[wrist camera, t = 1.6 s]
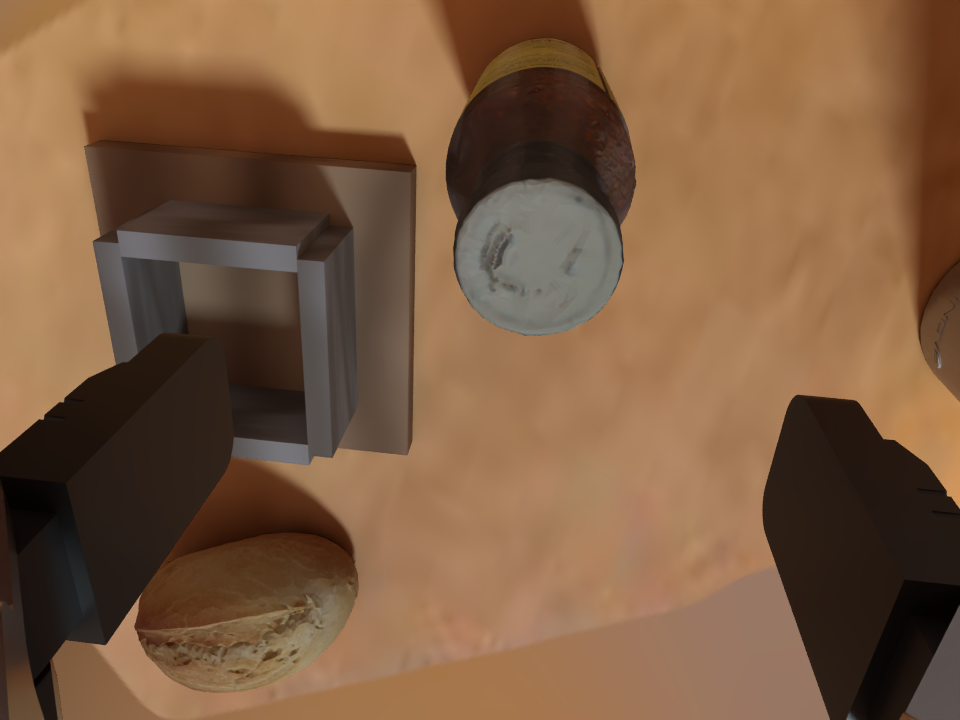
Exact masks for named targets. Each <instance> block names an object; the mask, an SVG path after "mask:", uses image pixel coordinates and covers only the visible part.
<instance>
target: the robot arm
mask: <svg viewBox="0 0 960 720" xmlns="http://www.w3.org/2000/svg"><path fill="white" fill-rule="evenodd" d="M921 347H922V350H923V353H924V357H925V360H926V362H927V363H928V365H929V367H930V368H931V370H932V371H933V373H934V374H935V375H936V377H937V378H938V379H939V380H940V381H941V382H942V383H943V384H944V385H945V386H946V388H947V389H948V390H949V391H950V392H951V393H952V394H953V395H954V396H955V397H956V399H957V400H958V401H959V402H960V262H959V263H957V264H956V265H955V266H954V267H953V268H952V269H951V270H950V271H949V272H948V273H947V274H946V275H945V276H944V278H943V279H942V280H941V282H940V283H939V284H938V286H937V287H936V289H935V290H934V291H933V293H932V295H931V297H930V299H929V302H928V304H927V306H926V308H925V310H924V315H923V319H922V323H921ZM64 399H65V400H64V403H63V402H59V403H58V404H57V405H56V406H54V407H53V408H52V409H51V410H50V411H49V412H47V413H46V414H45V415H44V420H40V419H39V420H38V421H37V422H35V423H34V424H33V425H32V426H31V427H30V428H28V429H27V430H26V431H25V432H24V433H22V434H21V435H20V436H19V437H18V438H17V439H15V440H14V441H13V442H12V443H11V444H9V445H8V446H7V447H6V448H5V449H3V450H2V451H1V452H0V720H63V716H62V708H61V701H60V695H59V687H58V680H57V674H56V671H55V667H54V663H53V660H52V658H53V656H54V655H55V653H56V652H57V651H58V650H59V648H60V647H61V646H62V644H63V643H64V642H65V640H69V641H78V642H85V643H93V644H101V645H106V644H107V643H108V641H109V640H110V638H111V637H112V635H113V634H114V632H115V631H116V630H117V628H118V627H119V625H120V624H121V622H122V621H123V619H124V618H125V616H126V615H127V614H128V612H129V611H130V609H131V608H132V606H133V605H134V603H135V602H136V601H137V599H138V598H139V596H140V595H141V593H142V592H143V590H144V589H145V587H146V586H147V585H148V583H149V582H150V580H151V579H152V577H153V576H154V574H155V573H156V571H157V570H158V569H159V567H160V566H161V564H162V563H163V561H164V560H165V558H166V557H167V556H168V554H169V553H170V551H171V550H172V548H173V547H174V545H175V544H176V542H177V541H178V540H179V538H180V537H181V535H182V534H183V532H184V531H185V529H186V528H187V526H188V525H189V524H190V522H191V521H192V519H193V518H194V516H195V515H196V513H197V512H198V511H199V509H200V508H201V506H202V505H203V503H204V502H205V500H206V499H207V497H208V496H209V495H210V493H211V492H212V490H213V489H214V487H215V486H216V484H217V483H218V482H219V480H220V479H221V477H222V476H223V474H224V473H225V471H226V469H227V467H228V464H229V461H230V458H231V454H232V449H233V441H234V429H233V420H232V411H231V402H230V393H229V385H228V376H227V367H226V358H225V352H224V348H223V345H222V343H221V342H220V340H219V339H218V338H216V337H209V336H198V335H188V334H178V333H167V332H164V333H161V334H160V335H158V336H157V337H156V338H155V339H154V340H152V341H151V342H150V343H149V344H148V345H147V346H146V347H144V348H143V349H142V350H141V351H140V352H139V353H138V354H137V355H135V356H134V357H133V358H132V359H131V360H130V361H129V362H122V363H120V364H117V365H115V366H113V367H111V368H109V369H107V370H104V371H102V372H100V373H98V374H96V375H94V376H91V377H89V378H88V379H86V380H85V381H84V382H83V383H82V384H81V385H79V386H78V387H77V388H76V389H75V390H73V391H72V392H71V393H70V394H69V395H68V396H66V397H65V398H64ZM763 525H764V531H765V534H766V537H767V540H768V543H769V546H770V549H771V552H772V554H773V557H774V560H775V563H776V566H777V569H778V572H779V574H780V577H781V580H782V583H783V586H784V589H785V592H786V595H787V597H788V600H789V603H790V606H791V608H792V612H793V615H794V617H795V620H796V623H797V626H798V629H799V632H800V635H801V637H802V640H803V643H804V646H805V649H806V652H807V655H808V658H809V660H810V663H811V666H812V669H813V672H814V675H815V678H816V680H817V683H818V686H819V689H820V692H821V695H822V697H823V701H824V703H825V706H826V709H827V712H828V715H829V718H830V720H960V509H959V507H958V506H957V505H956V503H955V502H954V500H953V499H952V498H951V497H948V496H947V491H946V489H945V488H944V487H943V485H942V484H941V483H940V481H939V480H938V478H937V477H936V476H935V474H934V473H933V472H932V470H931V469H930V467H929V466H928V465H927V464H926V463H925V462H923V461H922V460H921V459H919V458H918V457H916V456H915V455H914V454H912V453H911V452H910V451H908V450H907V449H906V448H904V447H903V446H902V445H900V444H899V443H898V442H896V441H895V440H886V439H883V438H882V437H881V435H880V434H879V432H878V431H877V429H876V428H875V426H874V425H873V423H872V422H871V420H870V419H869V417H868V416H867V414H866V413H865V411H864V410H863V408H862V407H861V405H860V404H859V403H858V402H857V401H855V400H847V399H837V398H827V397H816V396H806V395H796V396H795V397H794V398H793V399H792V400H791V402H790V404H789V406H788V408H787V411H786V415H785V418H784V422H783V425H782V429H781V433H780V436H779V440H778V443H777V447H776V450H775V454H774V457H773V461H772V465H771V468H770V472H769V475H768V479H767V482H766V486H765V490H764V496H763Z"/></svg>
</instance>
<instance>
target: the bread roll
mask: <svg viewBox="0 0 960 720" xmlns="http://www.w3.org/2000/svg"><path fill="white" fill-rule="evenodd" d="M354 563H355V560H353V559H352V558H351V557H350V556H349V554H348V553H347V552H346V551H344V550H343V549H342V548H341V547H339V546H338V545H336V544H335V543H333V542H331V541H329V540H327V539H325V538H323V537H320V536H317V535H313V534H304V533H274V534H265V535H259V536H257V537H252V538H245V539H243V540H239V541H234V542H230V543H225V544H222V545H219V546H216V547H212V548H209V549H205V550H201V551H198V552H194V553H190V554H187V555H183V556H181V557H178V558H176V559H175V560H173V561H171V562H170V563H168V564H167V565H165V566H164V567H163V568H162V569H161V570H160V571H159V572H158V573H157V574H156V575H155V576H154V577H153V578H152V579H151V580H150V582H149V583H148V585H147V586H146V587H145V589H144V590H143V593H142V595H141V597H140V600H139V611H138V615H137V619H136V623H135V626H134V628H135V630H137V634H138V637H139V641H140V642H141V645H142V647H143V648H144V651H145V653H146V655H147V656H148V657H149V658H150V659H151V660H152V661H153V662H154V663H155V664H156V665H157V666H158V667H159V668H160V669H161V670H162V672H163V673H164V674H165V675H167V676H168V677H169V678H171V679H172V680H174V681H176V682H178V683H180V684H182V685H184V686H186V687H188V688H190V689H193V690H197V691H203V692H213V693H228V692H242V691H248V690H253V689H258V688H261V687H265V686H268V685H270V684H273V683H275V682H278V681H280V680H282V679H284V678H286V677H289V676H290V675H292V674H294V673H296V672H298V671H300V670H301V669H303V668H305V667H306V666H308V665H309V664H311V663H312V662H313V661H315V660H316V659H317V658H318V657H319V656H320V655H321V654H322V653H323V652H324V651H325V650H326V649H327V648H328V647H329V646H330V645H331V644H332V643H333V641H334V640H335V638H336V637H337V636H338V634H339V633H340V632H341V630H342V629H343V627H344V626H345V624H346V622H347V620H348V618H349V616H350V613H351V611H352V609H353V606H354V603H355V600H356V598H357V594H358V588H359V585H358V573H357V570H356V568H355V565H354Z"/></svg>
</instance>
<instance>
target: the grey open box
mask: <svg viewBox="0 0 960 720" xmlns="http://www.w3.org/2000/svg"><path fill="white" fill-rule="evenodd" d="M84 148H85V154H86V159H87V164H88V170H89V175H90V181H91V186H92V192H93V197H94V203H95V208H96V213H97V219H98V224H99V230H100V235H101V237H99V238H97V239H96V240H94V241H93V246H94V251H95V256H96V262H97V267H98V272H99V278H100V283H101V288H102V293H103V299H104V304H105V309H106V314H107V320H108V325H109V330H110V336H111V341H112V346H113V351H114V357H115V362H116V365H117V364H120V363H122V362H129V361H130V360H131V359H132V358H133V357H134V356H135V355H137V354H138V353H139V352H140V351H141V350H142V349H143V348H144V347H146V346H147V345H148V344H149V343H150V342H151V341H152V340H154V339H155V338H156V337H157V336H158V335H160V334H161V333H164V332H167V333H178V334H188V335H198V336H209V337H216V338H218V339H219V340H220V342H221V343H222V345H223V348H224V352H225V358H226V367H227V376H228V385H229V393H230V402H231V411H232V420H233V429H234V441H233V449H232V454H231V457H238V458H247V459H256V460H265V461H274V462H284V463H293V464H302V465H310V463H311V461H312V459H313V457H314V456H320V457H329V458H333V456H334V454H335V452H336V449H337V448H344V449H353V450H362V451H372V452H381V453H390V454H400V455H408V452H409V449H410V446H411V443H412V422H413V356H414V291H415V226H416V165H405V164H393V163H380V162H368V161H355V160H343V159H330V158H318V157H305V156H293V155H280V154H268V153H255V152H243V151H230V150H218V149H205V148H193V147H180V146H167V145H155V144H142V143H130V142H117V141H105V140H100V141H98V142H95V143H92V144H89V145H86V146H84Z"/></svg>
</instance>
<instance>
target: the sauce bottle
mask: <svg viewBox="0 0 960 720" xmlns="http://www.w3.org/2000/svg"><path fill="white" fill-rule="evenodd" d="M635 168H636V167H635V160H634V155H633V150H632V146H631V142H630V136H629V131H628V128H627V125H626V122H625V119H624V117H623V115H622V113H621V111H620V108H619V106H618V104H617V102H616V100H615V97H614V95H613V93H612V91H611V89H610V87H609V85H608V83H607V80H606V78H605V76H604V74H603V72H602V70H601V68H598V67H596V65H595V63H594V61H593V59H592V58H591V57H590V56H589V55H588V54H586V53H585V52H584V51H582V50H581V49H579V48H578V47H576V46H574V45H572V44H570V43H567V42H565V41H561V40H558V39H554V38H538V39H530V40H528V41H524V42H521V43H518V44H516V45H513V46H511V47H509V48H507V49H506V50H505V51H503V52H502V53H501V54H499V55H498V56H497V57H495V58H494V59H493V60H492V61H491V62H490V63H489V65H488V66H487V67H486V69H485V70H484V71H483V73H482V75H481V76H480V78H479V80H478V82H477V84H476V86H475V88H474V90H473V92H472V94H471V96H470V98H469V99H468V101H467V103H466V106H465V108H464V110H463V112H462V114H461V116H460V118H459V120H458V122H457V124H456V127H455V129H454V132H453V135H452V137H451V141H450V144H449V148H448V154H447V160H446V183H447V190H448V195H449V199H450V202H451V205H452V208H453V210H454V212H455V214H456V216H457V219H458V223H457V226H456V230H455V241H454V247H453V251H454V252H453V253H454V270H455V273H456V277H457V280H458V282H459V285H460V287H461V289H462V291H463V293H464V295H465V296H466V298H467V300H468V301H469V303H470V305H471V306H472V308H473V309H475V310H476V311H477V312H478V313H479V314H480V315H481V316H482V317H483V318H485V319H486V320H488V321H489V322H491V323H493V324H494V325H496V326H497V327H500V328H503V329H506V330H509V331H512V332H516V333H519V334H522V335H525V336H526V335H549V334H556V333H560V332H565V331H568V330H571V329H573V328H575V327H576V326H578V325H580V324H583V323H585V322H587V321H588V320H590V319H591V318H592V317H593V316H594V315H595V314H597V313H598V312H599V311H600V310H601V309H602V308H603V307H604V306H605V305H606V303H607V302H608V300H609V299H610V297H611V296H612V294H613V292H614V290H615V289H616V286H617V284H618V281H619V278H620V275H621V271H622V267H623V263H624V258H623V242H622V234H621V229H620V225H621V224H622V222H623V221H624V219H625V217H626V216H627V213H628V211H629V209H630V206H631V202H632V198H633V195H634V189H635V187H636V180H635Z"/></svg>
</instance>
